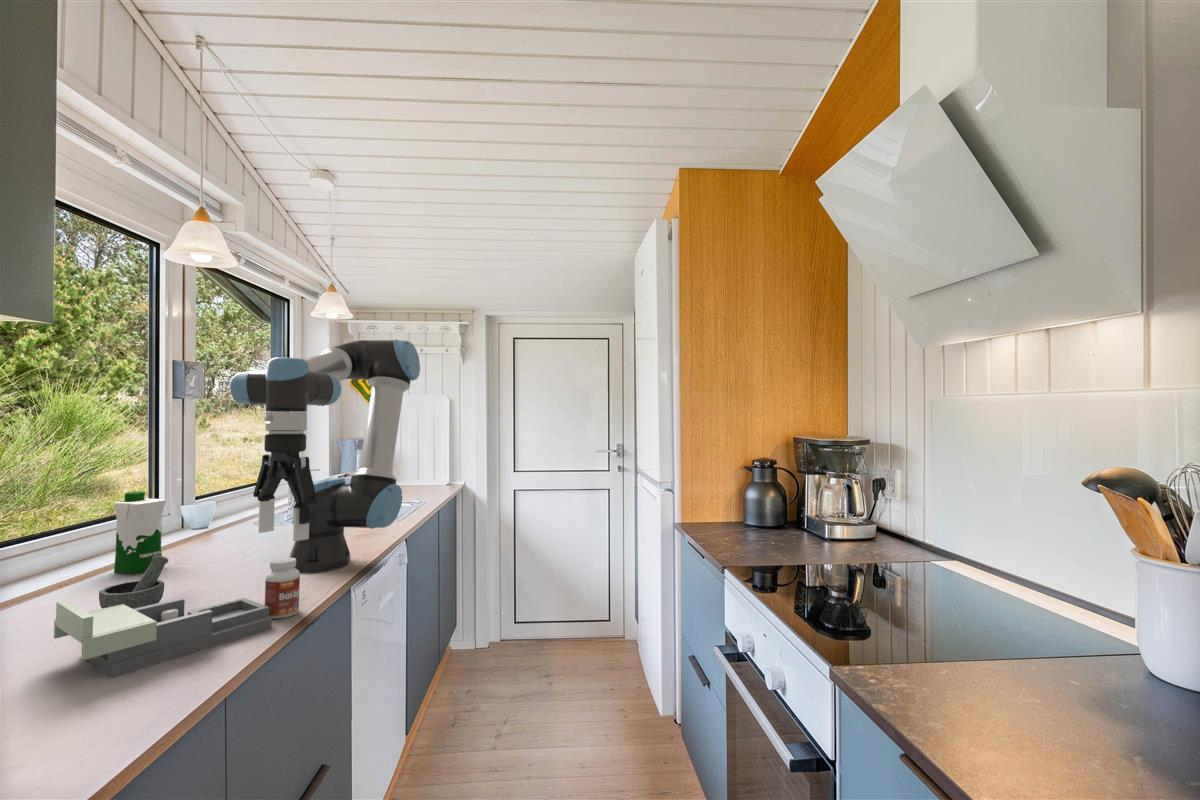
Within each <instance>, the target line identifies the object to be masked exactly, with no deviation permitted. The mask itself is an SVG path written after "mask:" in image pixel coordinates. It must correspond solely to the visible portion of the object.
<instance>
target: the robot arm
mask: <svg viewBox="0 0 1200 800" xmlns="http://www.w3.org/2000/svg"><path fill="white" fill-rule="evenodd" d="M266 367H267V368H266V369H264V370H260V371H259V370H258V371H252V370H249V371H240V372H237V373H236V374H235V375H234V376H232V378H231V380H230V383H229V390H230V396H231V398H232V399H233V401H235V402H236V403H238V404H239V405H250V406H258V405H259V406H263V405H264V406H266V407H265V416H264V417H263V421H264V422H265V425H264V426H265V431H267V432H268V433H265V435H264V452H267V453H271V454H262V456H261V457H262V458H261V465H260V469H259V473H258V476H257V480H256V483H255V487H254V490H253V494H252V495H253V497H254V498H257V501H259V505H258V506H259V509H258V534H263V533H269V532H274V531H275V530H274V529H275V528H274V527H275V523H274V522H275V502H276V501H275V499H276V497H275V493H276V491H277V489H278V487H279V486H280V483H281V482H282V479H283V480H284V481H285V482H287V484H288V487H289V489H290V492H291V495H292V497H293V500H294V502H295V504H294V506H293V535H292V536H293V539H292V541H293V542H294V544H293V546H292V548H291V551H290V553H289V557H288V558H295V559H296V566H295V569H297V570H298V571H299V573H320V572H327V571H332V570H338V569H341V568H344V567H346V566H348V565H349V564H350V563H351V552H350V550H349V546H348V543H347V542H346V541H347V539H346V538H345V528H358V529H359V528H361V529H363V528H365V529H366V528H367V529H376V528H377V529H380V528H384V529H385V528H387V527H389V526H391V525H392V524H393V523H394V522H395V521H396V520H397V517H398V516H399V514H400V511H401V507H402V504H403V491H402V488H401V487H400V486H399V485H398V484H397V478H396V477H395V475H393V472H392V471H393V466H394V459H395V452H396V446H397V444H396V443H397V437H398V431H399V425H400V419H401V418H400V417H401V412H402V405H403V396H404V393H405V392H406V391H407V390H409V389H410V386H411V381H416V380H417V379H418V378H419V376H420V374H421V364H420V357H419V354H418V351H417V348H416V347H415V345H414V343H412V342H411V341H409V340H400V339H393V340H391V339H388V340H387V339H386V340H384V339H383V340H382V339H381V340H380V339H379V340H378V339H377V340H371V339H370V340H368V339H365V340H364V339H363V340H361V339H360V340H353V341H350V342H347V343H342V344H340V345H336V346H332V347H329V348H326V349H324V350H323V351H322V352H321V354H318V355H314V356H311V357H307V358H304V359H302V358H297V357H273V358H270V359H269V360H268V361H267V366H266ZM344 380H367V384H368V385H369V386H370V387H371V392H370V397H369V404H368V409H367V410H368V411H367V417H366V421H365V422H366V423H365V430H364V434H363V435H364V436H363V441H362V447H361V452H360V459H359V466H358V470H357V471H355V472H354V473H353V474H352V475H351V477H350V482H349V483H346V482H347V481H346V478H345V477H337V478H327V479H322V480H321V479H320V480H313V476H312V473H311V468H310V457H309V456H300V452H305V450H306V449H307V435H306V433H304V432H306V431H307V429H308V427H307V426H308V425H307V424H308V406H318V407H320V406H321V407H324V406H329V405H330V406H331V405H332V404H334V403H336V402H337V401H338V400H339V398H340V396H341V395H342V386H341V382H340V381H344Z"/></svg>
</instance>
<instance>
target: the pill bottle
mask: <svg viewBox="0 0 1200 800" xmlns="http://www.w3.org/2000/svg"><path fill="white" fill-rule="evenodd" d="M295 566H296V559H295V558H289V557H280V558H276V559H275V558H274V559H272V560H270V561H269V569H270V571H269V572H268V573H267V574H266V575H265V580H264V581H265V587H264V605H265V606H267V607H269V615H267V616H269V617H271V618H272V620H275V619H276V620H277V619H286V617H287V618H290V617H292V616H294V615H296V614H297V613H298V612H299V610H300V584H301V583H300V582H301V581H300V580H301V578H300V577H301V572H299V571H298V570H297V569H295Z"/></svg>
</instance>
